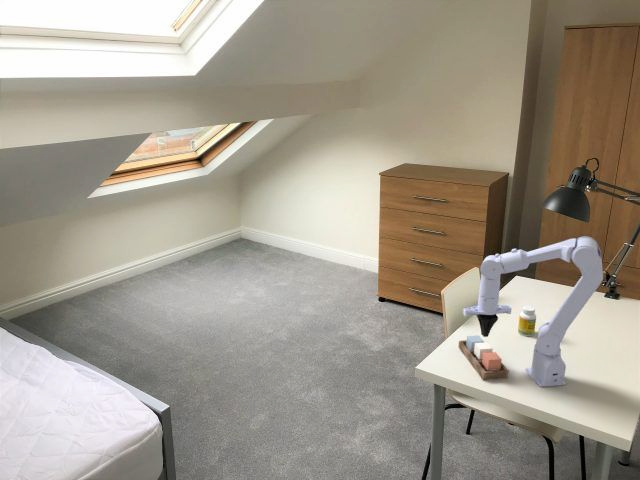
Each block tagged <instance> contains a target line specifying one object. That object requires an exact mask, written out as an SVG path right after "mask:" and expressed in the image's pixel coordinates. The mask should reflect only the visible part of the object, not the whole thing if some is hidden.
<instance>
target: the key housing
mask: <svg viewBox="0 0 640 480" xmlns="http://www.w3.org/2000/svg"><path fill="white" fill-rule="evenodd" d="M466 341H467V339H465V340H458V349H459V350H460V352H461V353H462V354H463V355H464V357H465V359H466V360H467V361H468V362H469V364H470V365H471V366H472V368H473V369H474V370H475V371H476V373H477V374H478V376H479V377H480V378H481V380H482V381H489V380H490V381H493V380H504V379H508V378H509V373H510V370H509V369H508V368H507V367H506V366H505V364H503V362H502V361H501V369H499V370H485V369H486V368H485V366H484V365H483V364H482V360H483V359H480V360H479V359H478V357H477V356H476V355H475V354H474V350H469V349H468V348H467V346H466ZM477 359H478V360H477Z"/></svg>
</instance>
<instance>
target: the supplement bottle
mask: <svg viewBox="0 0 640 480" xmlns="http://www.w3.org/2000/svg"><path fill="white" fill-rule="evenodd" d="M536 322H537V315H536V308H535V307H534V306H531V305H524V306H522V311H521V312H520V313H519V318H518V326H517V327H518V328H517V333H518V334H519V335H521V336H523V337H532V336H534V335H535V329H536Z"/></svg>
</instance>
